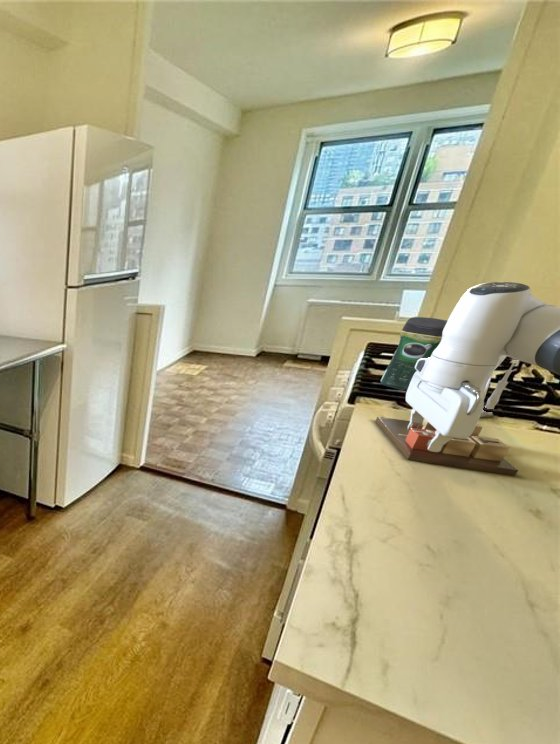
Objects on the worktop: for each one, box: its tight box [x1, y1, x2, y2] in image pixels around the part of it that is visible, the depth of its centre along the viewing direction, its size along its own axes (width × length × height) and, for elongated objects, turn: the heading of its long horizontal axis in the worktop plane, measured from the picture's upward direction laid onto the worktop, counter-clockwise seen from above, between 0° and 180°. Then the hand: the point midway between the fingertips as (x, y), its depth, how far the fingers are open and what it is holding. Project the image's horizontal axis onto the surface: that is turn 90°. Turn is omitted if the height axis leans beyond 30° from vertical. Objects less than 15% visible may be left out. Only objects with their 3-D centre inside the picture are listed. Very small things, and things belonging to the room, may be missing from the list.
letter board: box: [375, 416, 519, 477], centre depth 100 cm, size 16×20×1 cm
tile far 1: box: [471, 435, 510, 462], centre depth 93 cm, size 4×4×3 cm
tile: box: [441, 437, 476, 457], centre depth 94 cm, size 4×4×3 cm
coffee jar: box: [380, 316, 448, 392], centre depth 127 cm, size 10×8×19 cm
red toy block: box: [405, 428, 436, 451], centre depth 96 cm, size 5×4×3 cm
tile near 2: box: [422, 419, 436, 431], centre depth 103 cm, size 4×4×3 cm
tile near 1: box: [469, 422, 483, 438], centre depth 101 cm, size 4×4×3 cm
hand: (422, 440), depth 96 cm, fingers open, 8 cm apart
